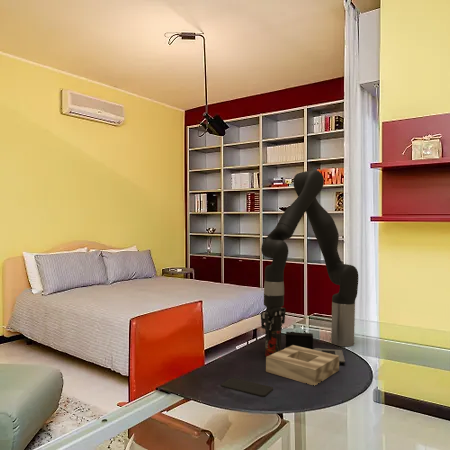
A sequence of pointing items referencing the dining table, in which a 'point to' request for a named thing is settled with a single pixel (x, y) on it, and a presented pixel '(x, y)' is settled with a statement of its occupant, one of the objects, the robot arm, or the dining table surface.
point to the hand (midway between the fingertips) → (273, 337)
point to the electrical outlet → (335, 352)
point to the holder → (302, 364)
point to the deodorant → (274, 337)
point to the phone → (247, 387)
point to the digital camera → (299, 339)
